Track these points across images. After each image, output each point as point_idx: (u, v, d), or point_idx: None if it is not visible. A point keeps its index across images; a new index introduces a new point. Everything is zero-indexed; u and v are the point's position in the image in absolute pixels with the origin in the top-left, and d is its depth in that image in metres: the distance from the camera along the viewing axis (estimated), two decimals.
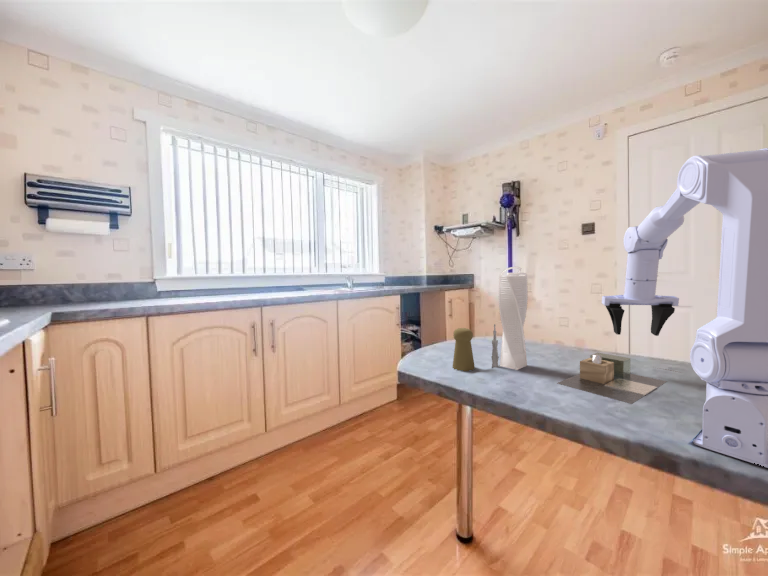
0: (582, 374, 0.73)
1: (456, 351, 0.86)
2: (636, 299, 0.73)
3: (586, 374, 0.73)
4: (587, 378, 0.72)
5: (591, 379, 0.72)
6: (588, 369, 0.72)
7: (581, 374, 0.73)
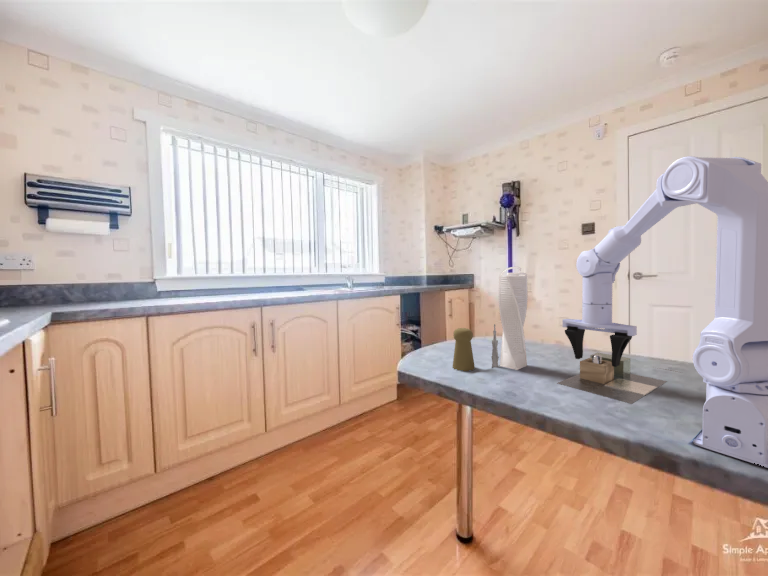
0: (582, 374, 0.73)
1: (456, 351, 0.86)
2: (584, 322, 0.72)
3: (586, 374, 0.73)
4: (587, 378, 0.72)
5: (591, 379, 0.72)
6: (588, 369, 0.72)
7: (581, 374, 0.73)
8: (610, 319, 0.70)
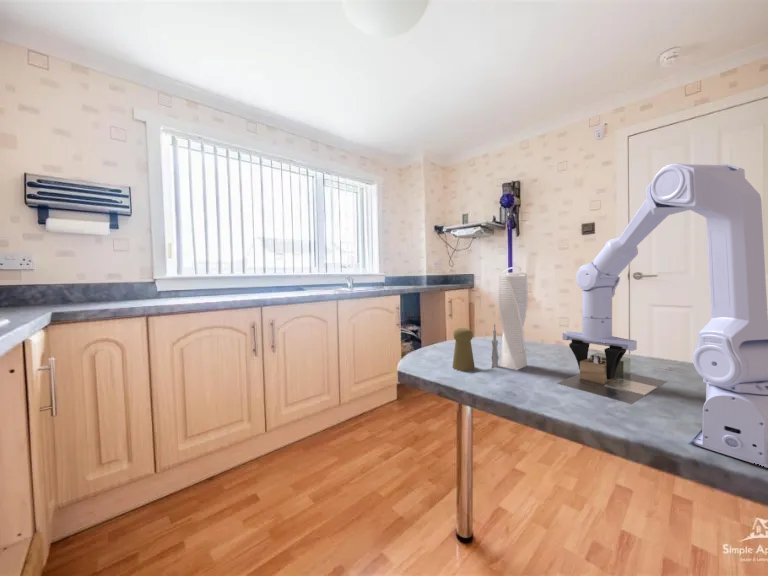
0: (582, 374, 0.73)
1: (456, 351, 0.86)
2: (584, 336, 0.72)
3: (586, 374, 0.73)
4: (587, 378, 0.72)
5: (591, 379, 0.72)
6: (588, 369, 0.72)
7: (581, 374, 0.73)
8: (610, 333, 0.70)
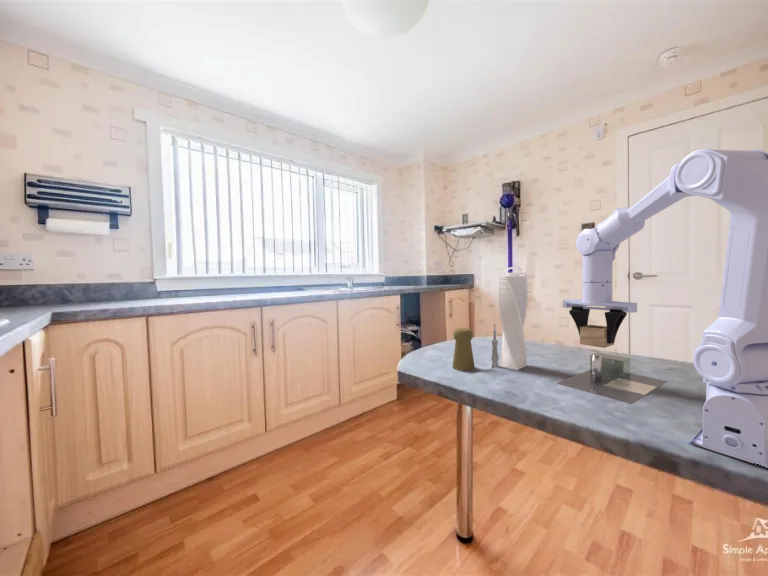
0: (582, 340, 0.73)
1: (456, 351, 0.86)
2: (584, 301, 0.72)
3: (586, 339, 0.72)
4: (587, 343, 0.72)
5: (591, 344, 0.71)
6: (588, 334, 0.72)
7: (581, 340, 0.73)
8: (610, 297, 0.70)
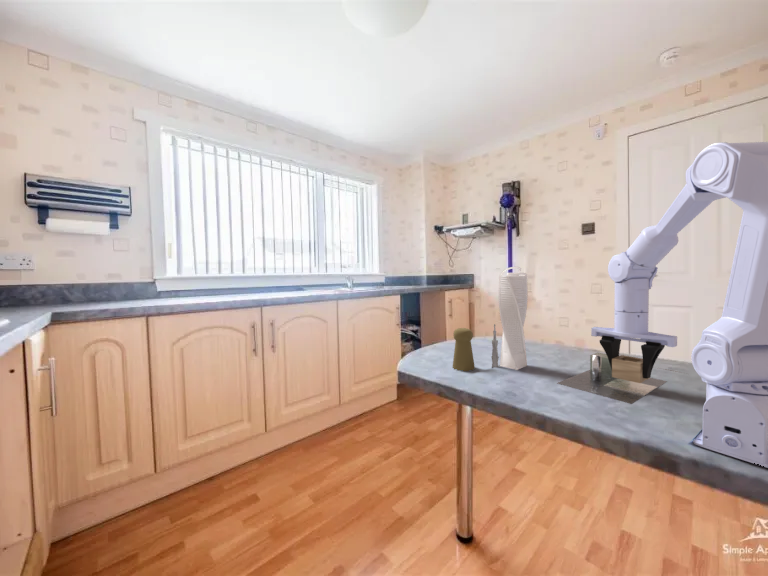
0: (614, 373, 0.68)
1: (456, 351, 0.86)
2: (617, 331, 0.67)
3: (619, 373, 0.67)
4: (620, 377, 0.67)
5: (625, 378, 0.66)
6: (621, 367, 0.67)
7: (613, 373, 0.68)
8: (646, 328, 0.65)
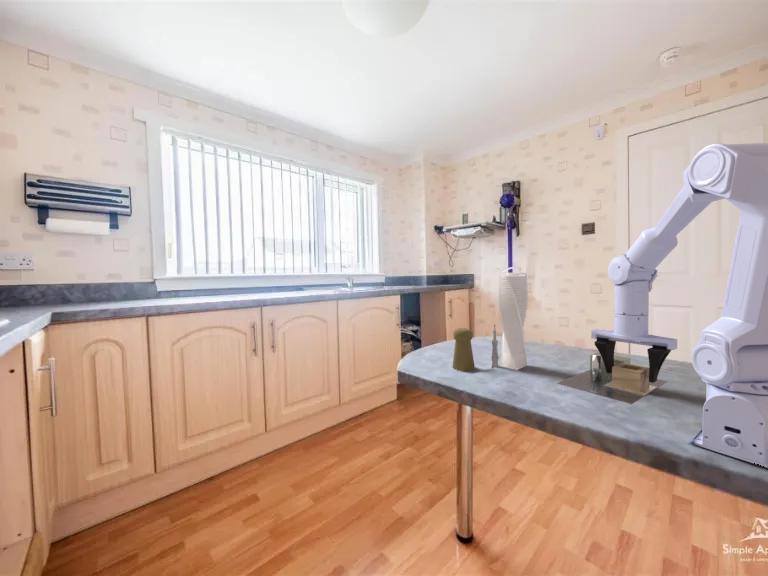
0: (615, 381, 0.68)
1: (456, 351, 0.86)
2: (617, 334, 0.67)
3: (619, 381, 0.67)
4: (620, 385, 0.67)
5: (625, 386, 0.66)
6: (622, 375, 0.67)
7: (613, 381, 0.68)
8: (646, 331, 0.65)
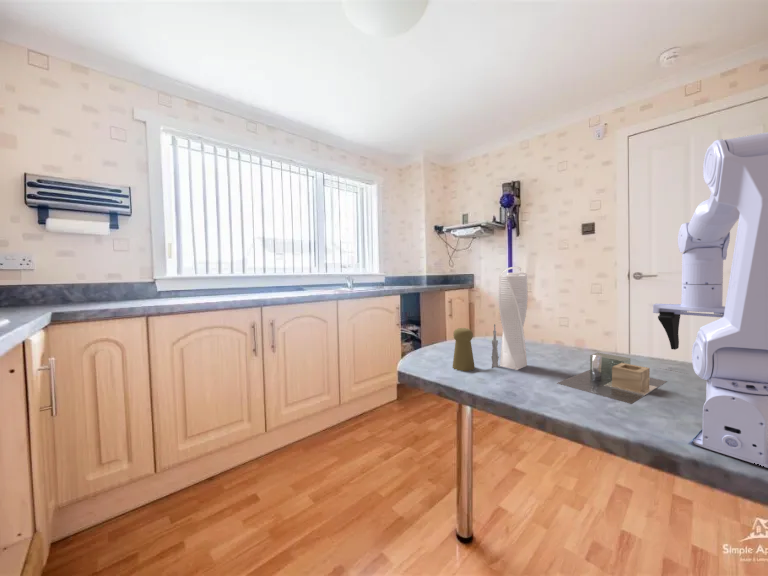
0: (615, 381, 0.68)
1: (456, 351, 0.86)
2: (687, 306, 0.62)
3: (619, 381, 0.67)
4: (620, 385, 0.67)
5: (625, 386, 0.66)
6: (622, 375, 0.67)
7: (613, 381, 0.68)
8: (721, 301, 0.60)
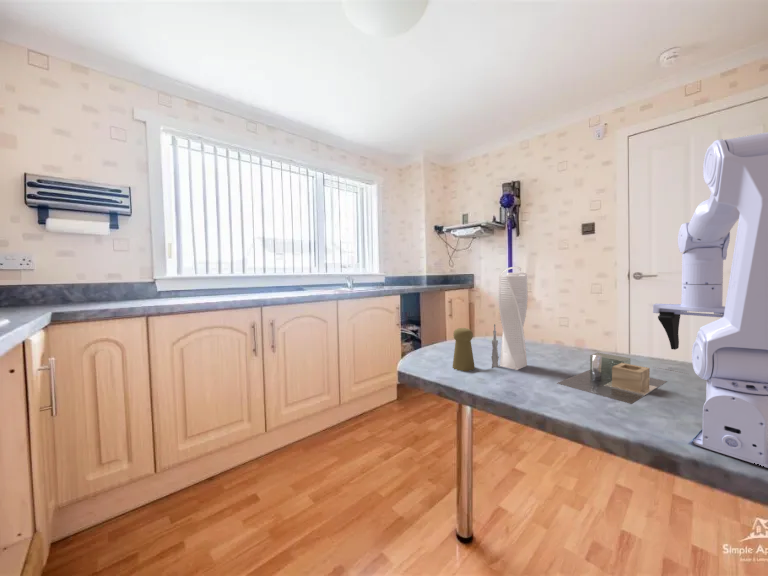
0: (615, 381, 0.68)
1: (456, 351, 0.86)
2: (687, 306, 0.62)
3: (619, 381, 0.67)
4: (620, 385, 0.67)
5: (625, 386, 0.66)
6: (622, 375, 0.67)
7: (613, 381, 0.68)
8: (721, 301, 0.60)
